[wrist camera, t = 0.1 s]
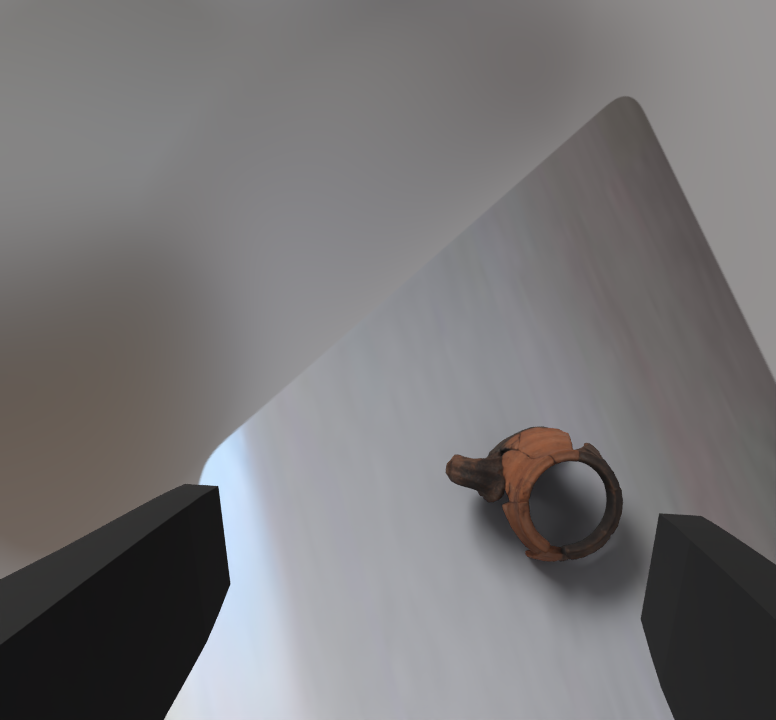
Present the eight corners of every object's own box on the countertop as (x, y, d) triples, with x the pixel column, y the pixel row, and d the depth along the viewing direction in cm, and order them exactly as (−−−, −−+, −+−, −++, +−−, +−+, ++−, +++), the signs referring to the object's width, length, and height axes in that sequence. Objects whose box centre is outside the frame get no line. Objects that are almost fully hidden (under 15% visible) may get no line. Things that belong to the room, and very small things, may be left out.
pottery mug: (581, 429, 43) (640, 439, 35) (571, 545, 43) (629, 582, 34) (439, 414, 42) (466, 421, 34) (427, 533, 41) (452, 570, 33)
